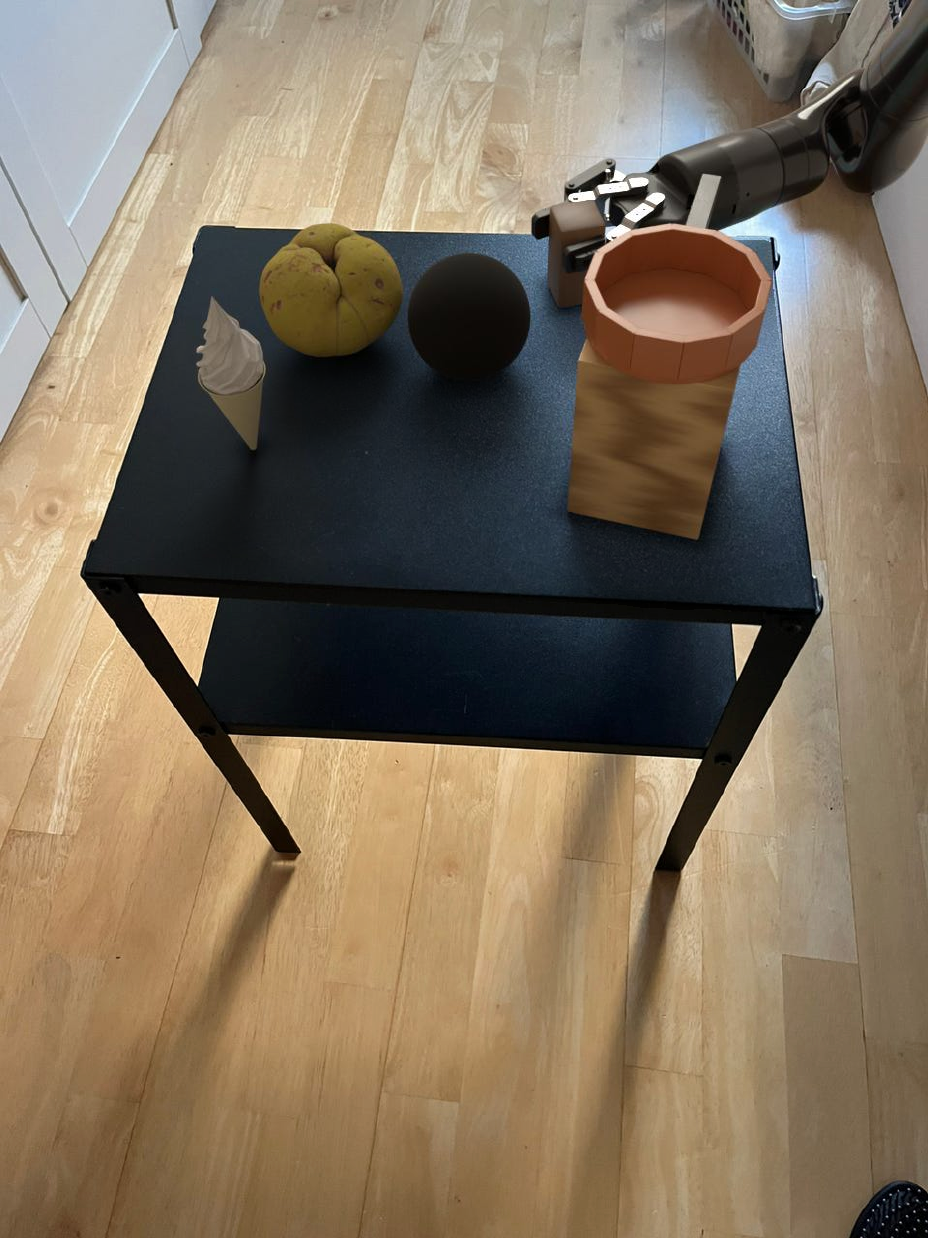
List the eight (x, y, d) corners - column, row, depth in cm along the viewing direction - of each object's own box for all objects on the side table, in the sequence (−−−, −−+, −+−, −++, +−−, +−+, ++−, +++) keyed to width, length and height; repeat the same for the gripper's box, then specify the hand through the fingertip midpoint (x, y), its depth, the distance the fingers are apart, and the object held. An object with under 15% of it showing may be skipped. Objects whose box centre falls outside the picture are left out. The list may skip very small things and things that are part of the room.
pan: (743, 399, 64) (754, 356, 61) (564, 365, 67) (566, 322, 64) (785, 223, 74) (797, 178, 71) (628, 199, 76) (633, 154, 73)
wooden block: (545, 282, 94) (548, 203, 88) (588, 275, 95) (594, 196, 88) (557, 310, 92) (560, 231, 86) (600, 302, 93) (607, 224, 86)
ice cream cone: (281, 470, 83) (241, 319, 70) (218, 471, 83) (167, 320, 70) (288, 425, 85) (251, 272, 73) (227, 425, 86) (179, 273, 73)
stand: (721, 445, 82) (758, 289, 70) (697, 540, 77) (733, 389, 65) (598, 420, 84) (613, 265, 72) (567, 511, 79) (577, 360, 67)
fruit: (272, 305, 94) (249, 207, 86) (401, 291, 94) (391, 192, 86) (274, 391, 88) (249, 293, 80) (412, 375, 88) (402, 277, 80)
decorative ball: (465, 310, 93) (461, 211, 84) (553, 359, 89) (558, 260, 80) (388, 370, 89) (375, 272, 80) (476, 424, 85) (472, 326, 76)
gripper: (676, 105, 92) (508, 161, 89) (774, 187, 85) (595, 252, 81) (666, 181, 99) (508, 237, 95) (756, 264, 91) (589, 329, 87)
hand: (549, 244), depth 88 cm, fingers closed on wooden block, 4 cm apart
